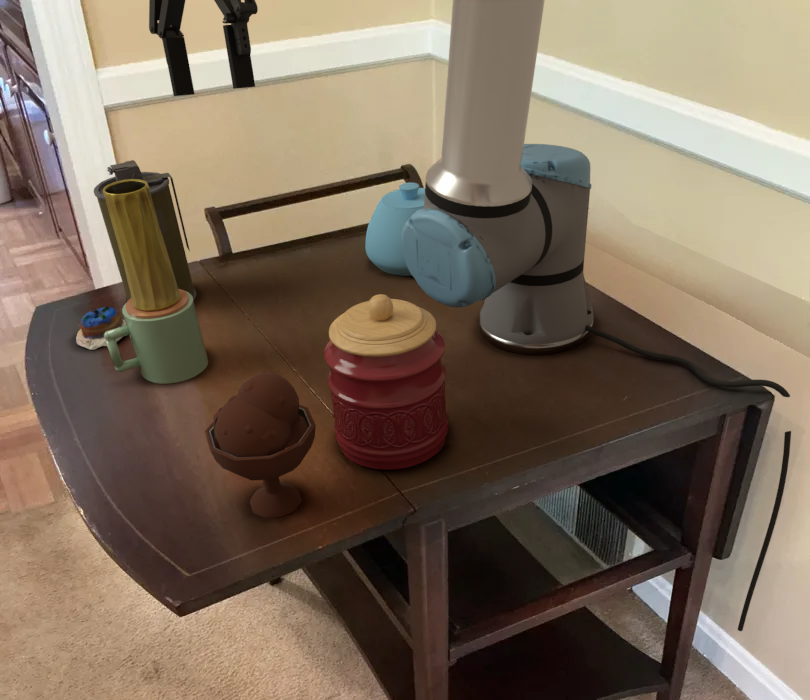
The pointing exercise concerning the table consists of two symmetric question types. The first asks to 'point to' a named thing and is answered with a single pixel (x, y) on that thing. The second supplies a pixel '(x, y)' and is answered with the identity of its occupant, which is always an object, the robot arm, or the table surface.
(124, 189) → the vase
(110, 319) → the dessert
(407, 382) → the kitchen canister
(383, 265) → the sugar bowl
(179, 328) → the mug
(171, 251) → the canister
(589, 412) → the table surface
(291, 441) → the ice cream bowl
